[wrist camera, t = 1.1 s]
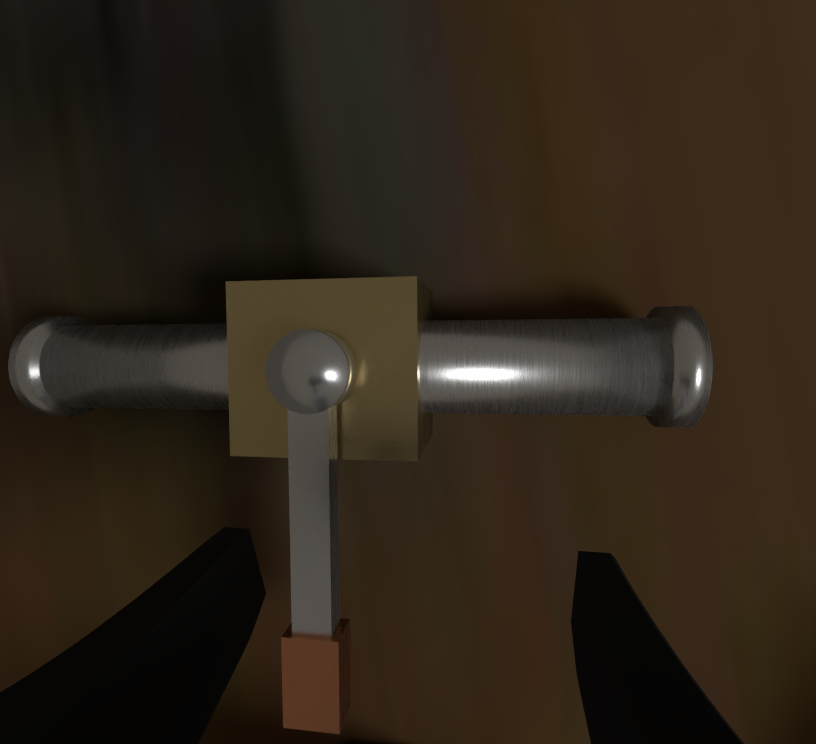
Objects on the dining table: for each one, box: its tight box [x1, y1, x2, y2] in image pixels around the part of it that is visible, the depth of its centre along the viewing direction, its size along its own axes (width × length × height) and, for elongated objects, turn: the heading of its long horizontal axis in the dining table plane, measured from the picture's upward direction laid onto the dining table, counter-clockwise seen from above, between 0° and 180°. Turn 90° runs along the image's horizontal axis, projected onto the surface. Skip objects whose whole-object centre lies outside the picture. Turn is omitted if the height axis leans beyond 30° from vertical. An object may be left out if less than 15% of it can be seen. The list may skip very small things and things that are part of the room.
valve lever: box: [266, 329, 357, 734], centre depth 17 cm, size 14×3×1 cm, turn 1°
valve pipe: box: [8, 276, 713, 462], centre depth 20 cm, size 6×26×5 cm, turn 91°
